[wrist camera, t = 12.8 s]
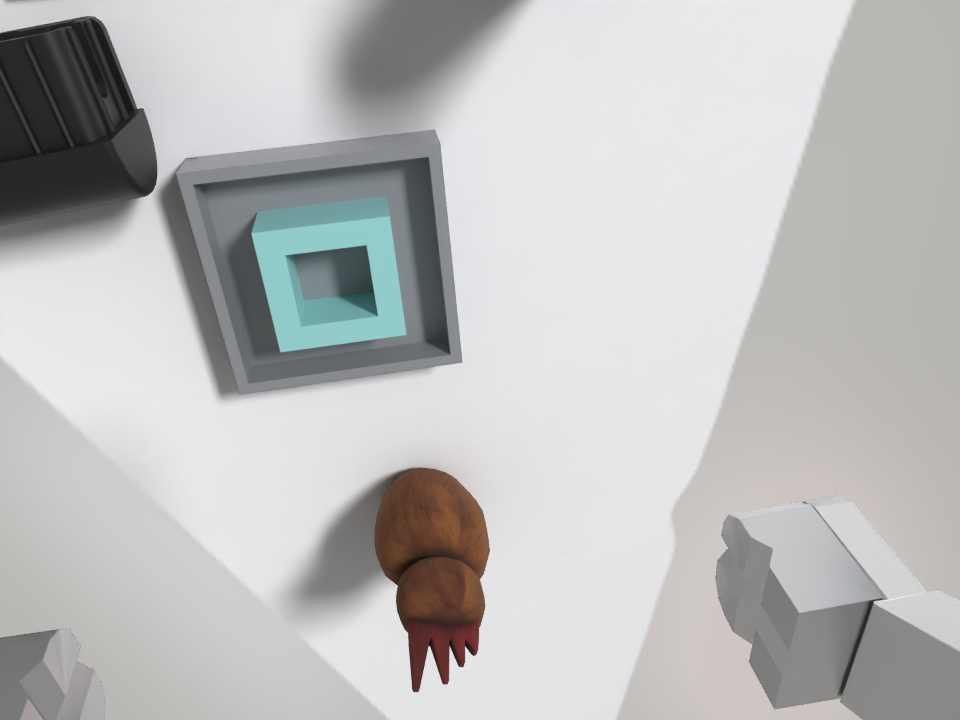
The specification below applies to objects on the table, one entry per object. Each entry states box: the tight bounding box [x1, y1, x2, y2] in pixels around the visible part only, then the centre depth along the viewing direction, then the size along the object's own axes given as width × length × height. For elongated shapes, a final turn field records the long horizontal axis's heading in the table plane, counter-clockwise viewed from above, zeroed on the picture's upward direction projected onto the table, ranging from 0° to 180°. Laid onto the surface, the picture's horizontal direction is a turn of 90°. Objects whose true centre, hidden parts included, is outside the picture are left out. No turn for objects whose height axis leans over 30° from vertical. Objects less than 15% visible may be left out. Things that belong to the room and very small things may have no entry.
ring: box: [251, 196, 406, 352], centre depth 38 cm, size 6×6×3 cm
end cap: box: [0, 16, 157, 226], centre depth 32 cm, size 10×7×7 cm
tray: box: [176, 130, 462, 395], centre depth 39 cm, size 12×12×2 cm
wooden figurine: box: [375, 468, 490, 692], centre depth 43 cm, size 7×6×15 cm
